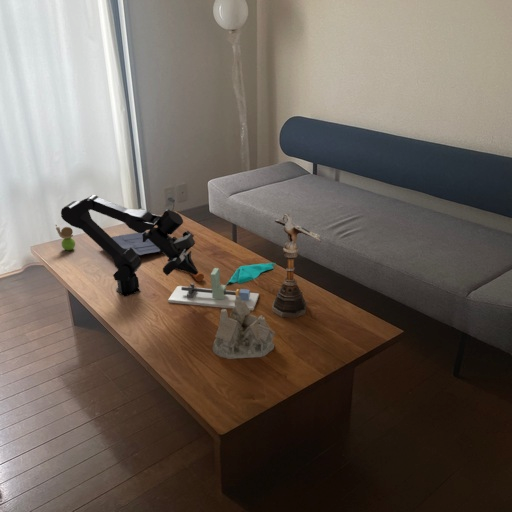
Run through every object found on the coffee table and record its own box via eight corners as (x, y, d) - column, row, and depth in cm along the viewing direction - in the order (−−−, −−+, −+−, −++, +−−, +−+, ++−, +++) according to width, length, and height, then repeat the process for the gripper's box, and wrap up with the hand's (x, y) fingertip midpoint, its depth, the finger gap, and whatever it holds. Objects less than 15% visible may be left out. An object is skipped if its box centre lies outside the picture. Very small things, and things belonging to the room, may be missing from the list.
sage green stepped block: (211, 299, 176) (210, 274, 172) (215, 292, 181) (214, 267, 176) (223, 300, 176) (222, 275, 171) (226, 293, 180) (225, 268, 176)
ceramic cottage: (204, 347, 153) (206, 304, 146) (244, 327, 164) (247, 286, 157) (240, 373, 144) (243, 328, 137) (280, 350, 154) (284, 307, 148)
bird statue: (296, 290, 184) (299, 197, 169) (323, 304, 175) (328, 207, 160) (261, 306, 174) (261, 209, 159) (288, 321, 165) (290, 220, 150)
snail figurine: (59, 248, 218) (54, 222, 213) (75, 246, 221) (70, 220, 216) (61, 253, 214) (56, 227, 209) (76, 251, 216) (72, 224, 211)
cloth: (269, 259, 209) (269, 254, 208) (288, 272, 198) (288, 267, 197) (212, 275, 196) (212, 270, 195) (229, 290, 186) (229, 284, 185)
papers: (96, 244, 219) (96, 236, 218) (160, 235, 237) (160, 228, 236) (120, 264, 202) (120, 256, 200) (186, 253, 219) (187, 245, 218)
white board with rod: (168, 302, 177) (167, 290, 175) (177, 288, 186) (177, 277, 184) (253, 310, 172) (253, 298, 170) (258, 295, 181) (258, 284, 179)
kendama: (191, 274, 188) (167, 252, 202) (194, 287, 191) (170, 264, 205) (205, 267, 190) (180, 245, 204) (208, 280, 194) (183, 258, 208)
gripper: (168, 238, 162) (204, 272, 164) (187, 217, 178) (219, 248, 181) (147, 259, 166) (182, 291, 169) (168, 236, 183) (199, 266, 186)
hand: (197, 273), depth 176 cm, fingers closed
